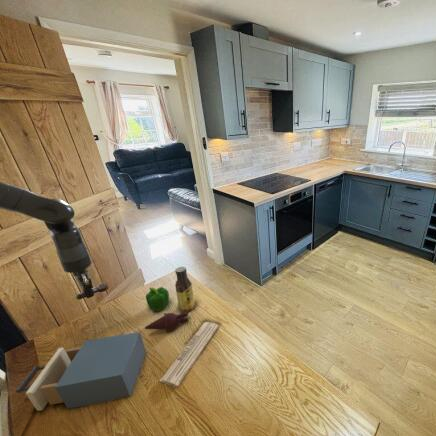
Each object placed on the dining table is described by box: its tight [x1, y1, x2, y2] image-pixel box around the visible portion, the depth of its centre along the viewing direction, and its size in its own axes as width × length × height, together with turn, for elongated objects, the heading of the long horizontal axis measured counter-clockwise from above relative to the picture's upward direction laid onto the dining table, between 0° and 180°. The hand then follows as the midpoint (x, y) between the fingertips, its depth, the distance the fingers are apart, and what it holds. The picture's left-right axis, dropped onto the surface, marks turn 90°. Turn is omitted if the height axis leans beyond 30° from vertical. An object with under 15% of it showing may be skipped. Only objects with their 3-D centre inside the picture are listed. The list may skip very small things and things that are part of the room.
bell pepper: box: [145, 286, 170, 312], centre depth 101 cm, size 8×8×10 cm
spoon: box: [75, 283, 109, 301], centre depth 89 cm, size 10×3×2 cm, turn 142°
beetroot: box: [144, 311, 189, 333], centre depth 92 cm, size 7×7×15 cm
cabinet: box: [55, 331, 147, 410], centre depth 73 cm, size 16×15×10 cm
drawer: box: [15, 346, 82, 412], centre depth 71 cm, size 20×14×8 cm
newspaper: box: [158, 321, 219, 388], centre depth 84 cm, size 24×7×2 cm, turn 165°
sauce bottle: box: [174, 266, 196, 313], centre depth 99 cm, size 7×6×20 cm
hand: (89, 295), depth 88 cm, fingers closed on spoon, 2 cm apart
